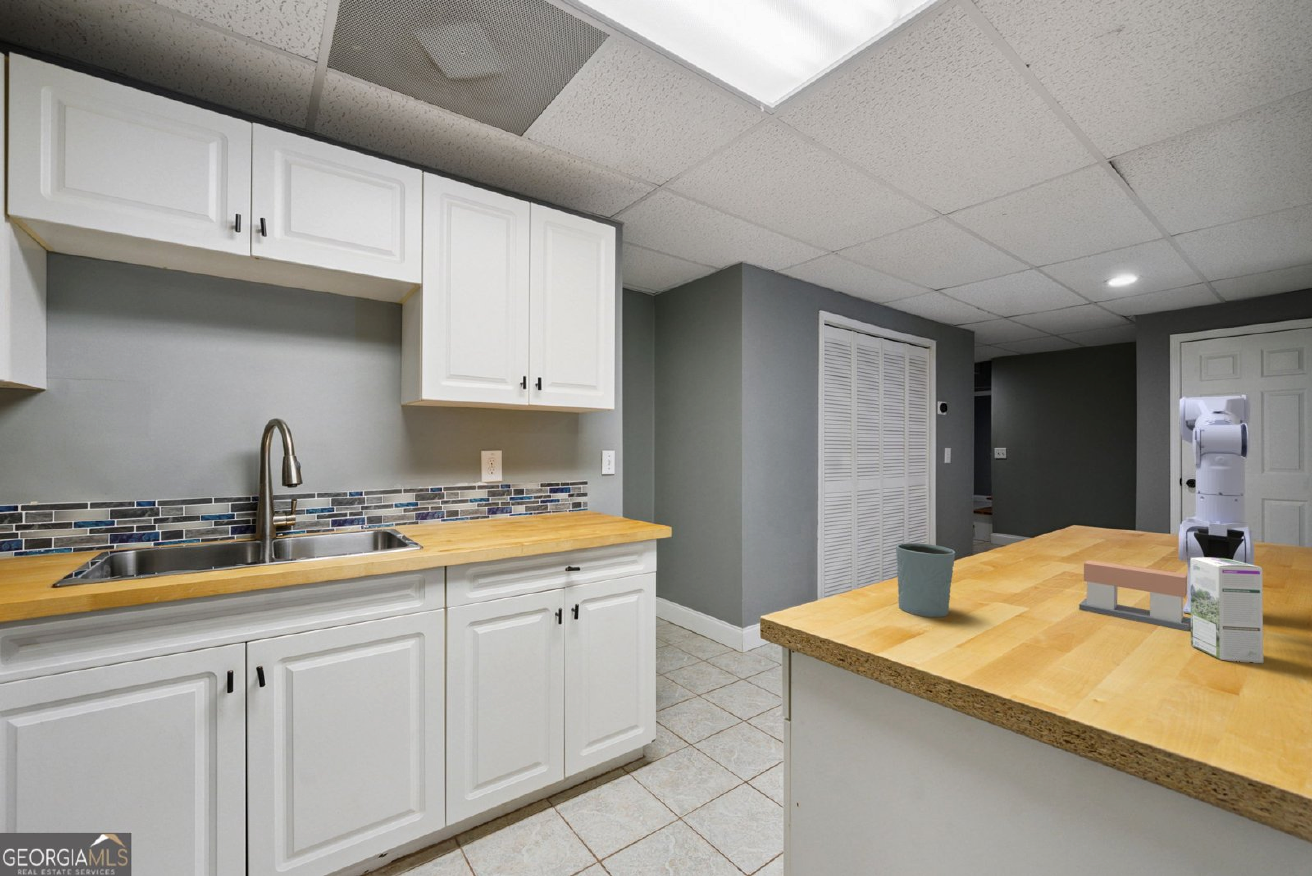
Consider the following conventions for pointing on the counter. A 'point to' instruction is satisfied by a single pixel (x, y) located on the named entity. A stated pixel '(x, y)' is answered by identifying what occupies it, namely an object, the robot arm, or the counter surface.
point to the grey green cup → (924, 578)
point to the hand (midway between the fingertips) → (1219, 573)
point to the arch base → (1161, 608)
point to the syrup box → (1227, 609)
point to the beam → (1136, 578)
